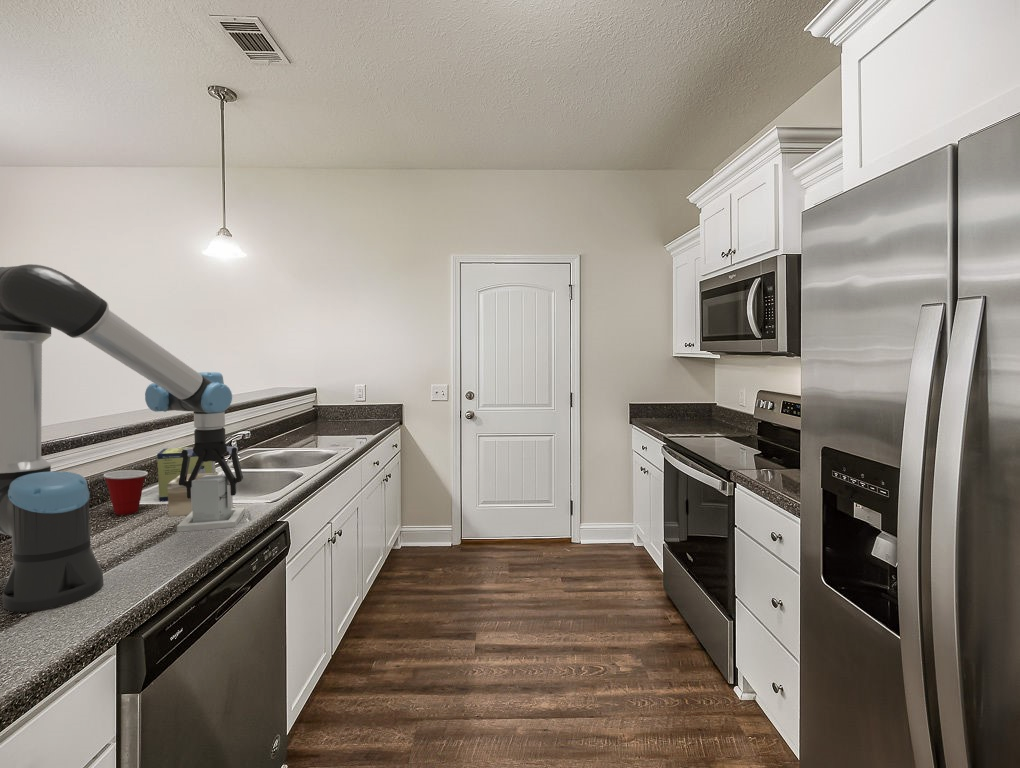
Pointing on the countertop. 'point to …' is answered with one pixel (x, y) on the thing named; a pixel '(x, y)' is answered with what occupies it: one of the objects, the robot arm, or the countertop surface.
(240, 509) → the white flat square frame
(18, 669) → the countertop surface
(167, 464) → the protein box
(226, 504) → the supplement box
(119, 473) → the plastic cup
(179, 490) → the tray
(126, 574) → the countertop surface
